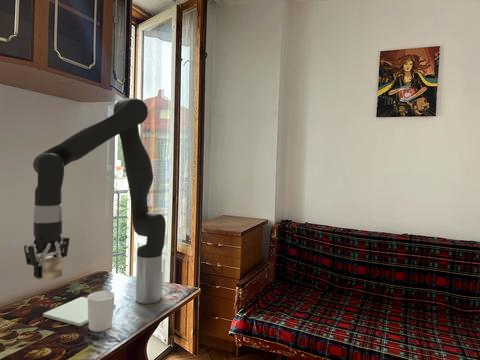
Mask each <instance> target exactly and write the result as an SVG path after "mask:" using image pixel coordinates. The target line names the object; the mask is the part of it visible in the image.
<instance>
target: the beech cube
mask: <svg viewBox="0 0 480 360" xmlns="http://www.w3.org/2000/svg"><path fill="white" fill-rule="evenodd" d="M38 261H39V260H38ZM41 266H42V278H40V279H38V278H35V277H34V266H32V279H33V280H36V281H43V282H49V281H52V280H54V279H55V280H56V279H58V278H61V277H63V258H57V257H53V256H52V255H48V256H46V258H45V259H44V260H43V263H42V265H41Z"/></svg>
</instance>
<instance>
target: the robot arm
mask: <svg viewBox="0 0 480 360" xmlns="http://www.w3.org/2000/svg"><path fill="white" fill-rule="evenodd" d="M148 115H149V108H148V106H147V105H146V103H145V101H142V100H141V99H139V98H135V97H129V98H128V97H126V98H121V99H119V100H117V101H116V102H115V104H114V106H113V114H111V115H109V116H108V117H106V118H104V119H103V120H100V121H98V122H96V123H94V124H92V125H89V126H87V127H85V128H83V129H81V130H79V131H77V132H76V133H74V134H73V135H70V136H69V137H68V138H66V139H65V140H63V141H62V142H61V143H59V144H57V145H54V146H52V147H51V148H48V149H47V150H45V151H43V152H41V153H40V154H38V155H37V156H36V157H34V160H33V162H32V163H33V164H32V166H33V167H32V168H33V169H34V171H35V172H36V173H37V186H36V187H35V190H34V209H33V237H34V240H33V242H32V243H31V244H29V245H27V244H26V245H23V251H24V255H25V262H26V265H28V266H32V267H33V266H34V277H35V278H38V279H40V278H42V266H41V265H42V263H43V260H44V259H45V258H46V257H47V255H48V254H51V256H52V257H57V258H62V259H63V258H66V257H67V256H68V250H69V245H70V238H69V237H65V236H61V235H62V233H63V207H62V188H63V181H64V175H65V167H66V166H67V165H69V164H71V163H72V162H75V161H78V160H80V159H82V158H83V157H85V156H86V155H88V154H89V153H91V152H93V151H94V150H95V149H97V148H98V147H100V146H101V145H103V144H104V143H106V142H107V141H109V140H111V139H112V138H114V137H116V136H118V135H119V138H120V144H121V150H122V155H123V163H124V169H125V174H126V175H125V176H126V179H127V183H128V190H129V198H130V205H131V221H132V227H133V230H134V232H135V234H137V235H138V236H139V237H141V236H142V237H146V242H145V244H143V245H139V246H138V247H137V249H136V278H135V279H136V285H135V286H136V288H135V301H136V302H137V303H139V304H142V305H150V304H155V303H158V302H159V301H160V300H161V299H162V297H163V274H164V273H163V272H162V271H163V269H162V268H163V267H162V266H163V250H164V246H165V242H166V241H165V239H166V223H167V222H166V218H165V217H164V215H163V214H161V213H157V212H152V211H151V212H150V211H149V205H148V196H149V193H150V189H151V187H152V185H153V180H154V171H153V166H152V161H151V158H150V155H149V153H148V152H147V149H146V148H145V146H144V143H143V141H142V139H141V135H140V129H139V125H141V124H143V123H144V122H146V119H147V118H148ZM38 260H39V261H38Z"/></svg>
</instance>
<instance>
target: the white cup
mask: <svg viewBox="0 0 480 360" xmlns="http://www.w3.org/2000/svg"><path fill="white" fill-rule="evenodd" d="M86 298H87V301H88V320H89V322H88V330H90V331H92V332H95V333H96V332H98V333H99V332H104V331H107V330H109V329H111V327H112V326H113V317H114V309H115V308H114V304H115V293H114V292H112V291H111V290H109V291H108V290H99V291H94V292H91V293H90V294H88V295H87V296H86Z"/></svg>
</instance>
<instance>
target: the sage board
mask: <svg viewBox="0 0 480 360" xmlns="http://www.w3.org/2000/svg"><path fill="white" fill-rule="evenodd" d="M116 307H117V305H116V303H114V309H115V308H116ZM42 317H43V318H48V319H50V320H55V321H59V322H63V323H66V324H70V325H74V326H77V327H81V326H84V325H85V324H87V323H89V320H88V301H87V297H84V296H80V297H78V298H76V299H73V300H72V301H69V302H66V303H65V304H62V305H59V306H57V307H55V308H52V309H50V310H47V311H45V312H43V313H42Z"/></svg>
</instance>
